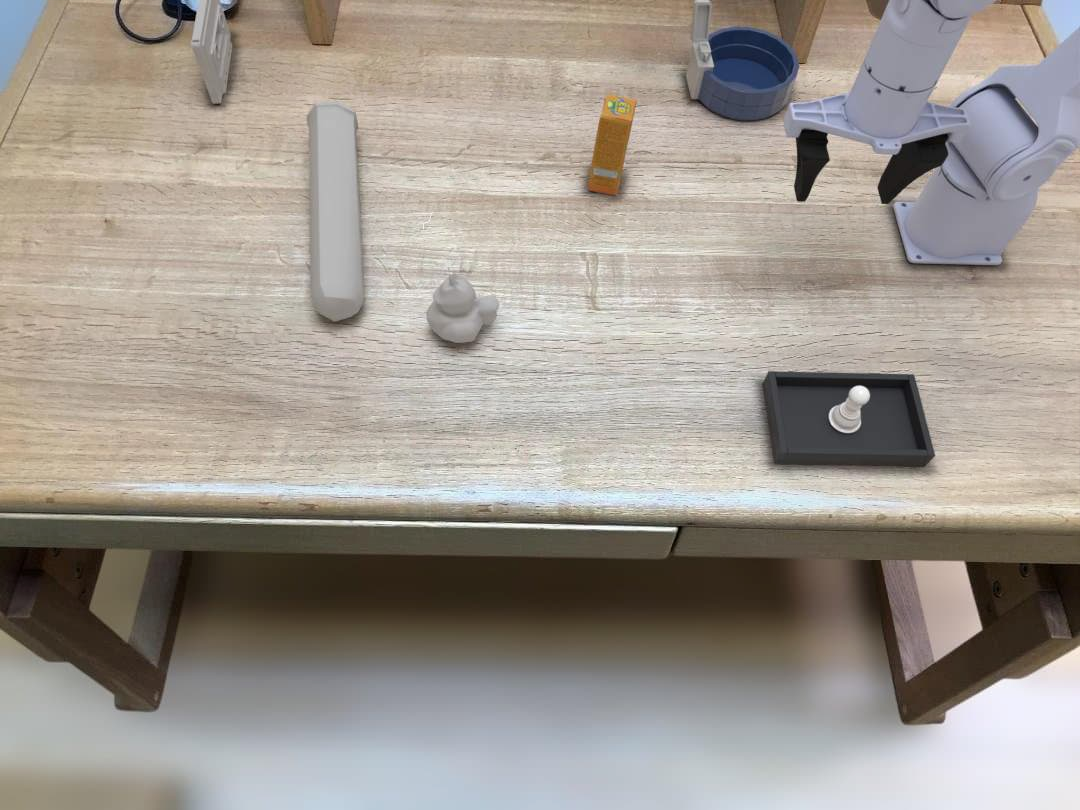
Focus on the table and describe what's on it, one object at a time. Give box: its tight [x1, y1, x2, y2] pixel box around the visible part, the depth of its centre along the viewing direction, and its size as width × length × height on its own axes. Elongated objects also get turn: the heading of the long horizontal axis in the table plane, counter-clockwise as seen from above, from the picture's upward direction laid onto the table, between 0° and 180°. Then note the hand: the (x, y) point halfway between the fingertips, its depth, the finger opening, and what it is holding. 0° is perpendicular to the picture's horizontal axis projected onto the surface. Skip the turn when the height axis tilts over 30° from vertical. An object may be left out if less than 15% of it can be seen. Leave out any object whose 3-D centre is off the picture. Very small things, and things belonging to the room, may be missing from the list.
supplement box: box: [587, 93, 638, 196], centre depth 85 cm, size 3×3×10 cm
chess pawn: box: [829, 386, 870, 433], centre depth 73 cm, size 3×3×5 cm
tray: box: [762, 370, 936, 467], centre depth 75 cm, size 13×8×2 cm, turn 90°
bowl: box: [698, 25, 800, 122], centre depth 96 cm, size 11×11×4 cm
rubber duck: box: [426, 272, 500, 344], centre depth 76 cm, size 5×7×8 cm
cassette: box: [190, 0, 233, 105], centre depth 93 cm, size 12×2×8 cm, turn 5°
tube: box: [305, 100, 365, 323], centre depth 83 cm, size 5×5×25 cm
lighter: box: [685, 0, 714, 100], centre depth 95 cm, size 7×2×8 cm, turn 4°
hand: (841, 194), depth 77 cm, fingers open, 7 cm apart
